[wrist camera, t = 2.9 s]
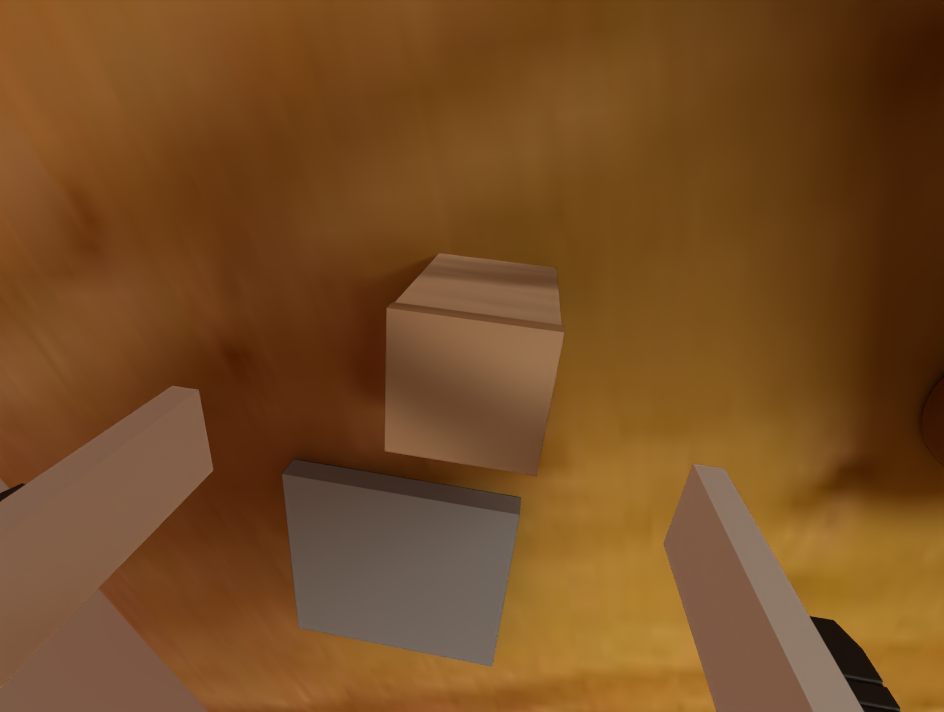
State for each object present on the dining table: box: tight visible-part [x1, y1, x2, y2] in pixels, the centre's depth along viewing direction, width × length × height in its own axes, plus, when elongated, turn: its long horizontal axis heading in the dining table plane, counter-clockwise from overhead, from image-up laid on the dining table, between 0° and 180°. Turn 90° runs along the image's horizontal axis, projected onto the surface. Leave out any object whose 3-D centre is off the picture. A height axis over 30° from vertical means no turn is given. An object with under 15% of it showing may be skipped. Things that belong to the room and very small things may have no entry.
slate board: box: [282, 459, 521, 666], centre depth 30 cm, size 14×14×1 cm
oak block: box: [385, 253, 565, 476], centre depth 19 cm, size 6×6×8 cm
